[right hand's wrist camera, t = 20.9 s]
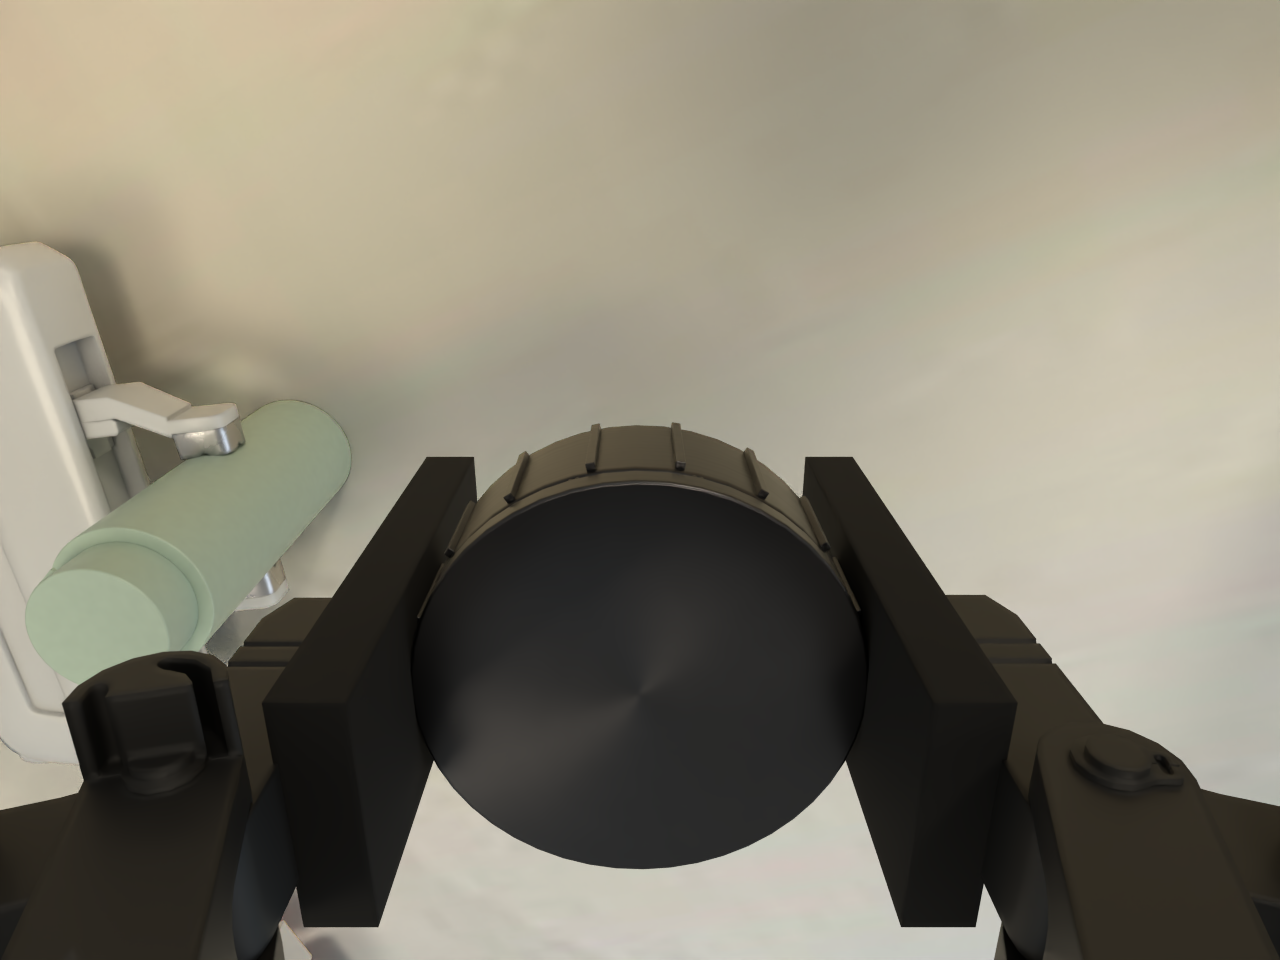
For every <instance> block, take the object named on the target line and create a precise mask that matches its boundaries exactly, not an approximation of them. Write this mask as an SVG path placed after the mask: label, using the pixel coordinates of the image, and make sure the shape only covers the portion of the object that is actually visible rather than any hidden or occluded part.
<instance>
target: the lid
mask: <svg viewBox="0 0 1280 960" xmlns="http://www.w3.org/2000/svg"><path fill="white" fill-rule="evenodd" d="M829 549H831V547H830V545H829V542H828V540H827V538H826V536H825V534H824V532H823V530H822V528H821V525H820V523H819V521H818V519H817V517H816V515H815V513H814V511H813V508H812V506H811V504H810V502H809V500H808V499H807V498H806V496H805V495H804V496H802V497H801V498H799V497H798V496H797V495H796V494H795V493H794V492H793V491H792V490H791V488H790V487H789V486H788V485H787V484H786V483H785V482H784V481H783V480H782V479H781V478H780V477H778V476H777V475H776V474H775V473H774V472H772V471H771V470H770V469H769V468H768V467H766V466H765V465H764V464H762V463H761V462H759V461H758V460H757V459H756V456H755V453H754V451H753V450H751V449H749V448H746V450H745V451H744V452H743V451H742V450H739V449H737V448H735V447H733V446H731V445H728V444H726V443H724V442H722V441H720V440H717V439H714V438H711V437H708V436H705V435H701V434H698V433H695V432H692V431H686V430H681V426H680V424H679V423H672V425H671V428H669V427H662V426H640V425H634V426H621V427H608V428H604V429H601V426H600V424H595V425H592V427H591V431H589V432H584V433H580V434H577V435H574V436H572V437H569V438H566V439H563V440H560V441H557V442H555V443H553V444H551V445H549V446H547V447H544V448H542V449H540V450H538V451H536V452H534V453H532V454H531V455H529V454H528V453H527V452H526V451H525V452H523V453H522V454H520V455H519V458H518V460H517V463H516V465H514V466H513V467H511V468H510V469H509V470H508V471H507V472H506V473H504V474H503V475H502V476H501V477H500V478H499V479H498V480H497V481H495V482H494V483H493V484H492V485H491V486H490V487H489V488H488V490H487V491H486V492H485V493H484V494H483V496H482V497H481V498H480V499H479V500H478V501H477V503H474V502H472V501H470V502H469V503H468V505H467V506H466V508H465V510H464V513H463V515H462V517H461V519H460V521H459V523H458V525H457V527H456V529H455V532H454V534H453V536H452V538H451V540H450V542H449V544H448V546H447V548H446V551H445V553H444V555H446V556H447V559H446V561H445V563H442V564H441V566H440V568H439V570H438V573H437V575H436V577H435V579H434V581H433V583H432V585H431V587H430V590H429V592H428V594H427V596H426V598H425V600H424V602H423V605H422V607H421V609H420V611H419V613H418V615H417V625H418V626H417V630H416V634H415V638H414V642H413V647H412V657H411V679H412V689H413V698H414V706H415V714H416V719H417V723H418V725H419V728H420V731H421V733H422V736H423V739H424V741H425V744H426V746H427V748H428V750H429V752H430V754H431V755H432V757H433V759H434V761H435V763H436V765H437V766H438V768H439V769H440V771H441V772H442V774H443V775H444V776H445V778H446V779H447V780H448V782H449V783H450V784H451V786H452V787H453V788H454V789H455V790H456V791H457V793H458V794H459V795H460V796H461V797H462V798H463V799H464V800H465V801H466V802H467V803H468V804H469V805H470V806H471V807H472V808H473V809H475V810H476V811H477V812H478V813H479V814H481V815H482V816H483V817H484V818H486V819H487V820H488V821H489V822H491V823H492V824H493V825H495V826H497V827H498V828H500V829H501V830H503V831H505V832H506V833H508V834H509V835H511V836H512V837H514V838H516V839H518V840H520V841H522V842H524V843H526V844H529V845H531V846H533V847H535V848H537V849H539V850H542V851H545V852H548V853H550V854H553V855H556V856H559V857H562V858H565V859H569V860H573V861H577V862H581V863H585V864H590V865H597V866H604V867H611V868H626V869H653V868H669V867H676V866H682V865H688V864H694V863H699V862H702V861H706V860H710V859H713V858H717V857H721V856H724V855H726V854H729V853H732V852H734V851H737V850H739V849H742V848H744V847H747V846H749V845H751V844H753V843H755V842H757V841H759V840H761V839H762V838H764V837H766V836H768V835H770V834H772V833H773V832H775V831H776V830H778V829H779V828H781V827H782V826H784V825H785V824H787V823H788V822H790V821H791V820H793V819H794V818H795V817H796V816H797V815H799V814H800V813H801V812H802V811H803V810H804V809H805V808H807V807H808V806H809V805H810V804H811V803H812V802H813V801H814V800H815V799H816V798H817V797H818V796H819V795H820V794H821V793H822V791H823V790H824V789H825V788H826V787H827V786H828V785H829V784H830V782H831V781H832V780H833V778H834V777H835V775H836V774H837V772H838V771H839V769H840V768H841V766H842V765H843V763H844V762H845V760H846V758H847V756H848V754H849V752H850V750H851V748H852V746H853V744H854V742H855V740H856V737H857V734H858V731H859V728H860V725H861V722H862V719H863V716H864V708H865V700H866V692H867V682H868V670H869V661H868V654H867V647H866V639H865V635H864V632H863V629H862V625H861V622H860V619H859V618H862V617H863V615H862V611H861V608H860V606H859V604H858V602H857V600H856V598H855V596H854V594H853V592H852V589H851V587H850V585H849V583H848V581H847V579H846V577H845V575H844V572H843V570H842V568H841V566H840V564H839V562H838V560H837V558H836V557H833V558H832V556H831V554H830V552H829Z"/></svg>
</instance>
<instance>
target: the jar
mask: <svg viewBox="0 0 1280 960" xmlns="http://www.w3.org/2000/svg"><path fill="white" fill-rule="evenodd" d="M241 425H242V429H243V433H244V436H245V440H246V442H245V443H244V444H242V445H238V447H237V449H236V450H234V451H233V452H230V453H228V454H224V455H219V456H209V455H207V454H203V455H202V456H200V457H197V458H192V459H187V460H185V461H184V462H182V463H181V464H179V465H178V466H177V467H175V468H174V469H172V470H171V471H169V472H168V473H167V474H165V475H164V476H162V477H161V478H159V479H158V480H157V481H155V482H154V483H152V484H151V485H149V486H148V487H147V488H145V489H144V490H142V491H141V492H139V493H138V494H137V495H135V496H134V497H132V498H131V499H129V500H128V501H127V502H125V503H124V504H122V505H121V506H119V507H118V508H117V509H115V510H114V511H112V512H111V513H109V514H108V515H107V516H105V517H104V518H102V519H101V520H99V521H98V522H97V523H95V524H94V525H92V526H91V527H89V528H88V529H86V530H85V531H84V532H82V533H81V534H79V535H78V536H76V537H75V538H74V539H72V540H71V541H70V542H68V543H67V544H66V545H65V546H64V547H63V548H62V549H61V551H60V552H59V554H58V555H57V557H56V559H55V561H54V563H53V566H52V569H50V571H49V572H48V573H47V574H46V576H45V577H44V578H43V579H42V581H41V582H40V583H39V584H38V585H37V586H36V587H35V589H34V590H33V592H32V593H31V595H30V597H29V599H28V602H27V605H26V609H25V625H26V629H27V633H28V636H29V639H30V641H31V643H32V645H33V647H34V649H35V650H36V651H37V653H38V654H39V656H40V657H41V658H42V659H43V660H44V661H45V663H46V664H48V665H49V666H50V667H51V668H52V669H53V670H54V671H56V672H57V673H58V674H60V675H61V676H63V677H64V678H66V679H68V680H70V681H72V682H74V683H76V684H78V685H80V684H81V683H83V682H84V681H86V680H88V679H89V678H91V677H92V676H94V675H96V674H97V673H99V672H100V671H102V670H104V669H107V668H109V667H112V666H115V665H117V664H120V663H122V662H125V661H127V660H130V659H132V658H137V657H141V656H146V655H150V654H155V653H159V652H167V651H196V652H198V651H199V650H200V649H201V648H202V647H203V646H204V645H205V644H206V643H207V641H208V640H209V639H210V638H211V637H212V636H213V635H214V633H215V632H216V631H217V630H218V629H219V628H220V626H221V625H222V624H223V623H224V622H225V621H226V620H227V618H228V617H229V616H230V615H231V614H232V613H233V612H234V610H235V609H236V608H237V607H238V606H239V605H240V603H241V602H242V601H243V600H244V599H245V598H246V597H247V595H248V594H249V593H250V592H251V591H252V590H253V588H254V587H255V586H256V585H257V584H258V583H259V582H260V580H261V579H262V578H263V577H264V576H265V575H266V573H267V572H268V571H269V570H270V569H271V568H272V567H273V565H274V564H275V563H276V562H277V561H278V560H279V559H280V557H281V556H282V555H283V554H284V553H285V552H286V550H287V549H288V548H289V547H290V546H291V545H292V544H293V542H294V541H295V540H296V539H297V538H298V537H299V535H300V534H301V533H302V532H303V531H304V530H305V529H306V527H307V526H308V525H309V524H310V523H311V522H312V521H313V519H314V518H315V517H316V516H317V515H318V514H319V512H320V511H321V510H322V509H323V508H324V507H325V506H326V504H327V503H328V502H329V501H330V500H331V499H332V497H333V496H334V495H335V494H336V493H337V492H338V491H339V489H340V488H341V487H342V486H343V484H344V483H345V481H346V479H347V477H348V475H349V472H350V468H351V451H350V446H349V443H348V440H347V438H346V436H345V434H344V432H343V430H342V429H341V427H340V426H339V425H338V424H337V422H336V421H335V420H334V419H333V418H332V417H331V416H330V415H328V414H327V413H325V412H324V411H323V410H321V409H319V408H317V407H315V406H313V405H311V404H308V403H305V402H301V401H295V400H282V401H276V402H272V403H269V404H267V405H265V406H263V407H261V408H259V409H258V410H257V411H255V412H254V413H252V414H251V415H249V416H248V417H247V418H245V419H244V420H242V421H241Z"/></svg>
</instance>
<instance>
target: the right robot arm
mask: <svg viewBox="0 0 1280 960" xmlns="http://www.w3.org/2000/svg"><path fill="white" fill-rule="evenodd" d="M804 495H805V496H806V498H807V499H808V500H809V502H810V504H811V506H812V508H813V511H814V513H815V515H816V517H817V519H818V521H819V523H820V525H821V528H822V530H823V532H824V534H825V536H826V538H827V540H828V542H829V545H830V547H831V549H829V552H830V554H831V556H832V558H833V557H836V558H837V560H838V562H839V564H840V566H841V568H842V570H843V572H844V575H845V577H846V579H847V581H848V583H849V585H850V587H851V589H852V592H853V594H854V596H855V598H856V600H857V602H858V604H859V606H860V608H861V611H862V615H863V617H862V618H859V619H860V622H861V625H862V629H863V632H864V635H865V639H866V647H867V654H868V661H869V670H868V682H867V692H866V700H865V708H864V716H863V719H862V722H861V725H860V728H859V731H858V734H857V737H856V740H855V742H854V744H853V746H852V748H851V750H850V752H849V754H848V756H847V758H846V762H847V765H848V768H849V771H850V774H851V777H852V780H853V784H854V787H855V790H856V793H857V796H858V799H859V802H860V805H861V808H862V811H863V814H864V817H865V820H866V823H867V826H868V829H869V832H870V835H871V838H872V841H873V844H874V847H875V850H876V853H877V856H878V859H879V862H880V865H881V868H882V871H883V874H884V877H885V880H886V883H887V886H888V889H889V892H890V895H891V898H892V901H893V904H894V907H895V910H896V913H897V916H898V919H899V922H900V925H901V927H976V922H977V917H978V911H979V906H980V901H981V895H982V890H983V885H984V884H985V887H986V889H987V891H988V893H989V895H990V897H991V900H992V902H993V904H994V906H995V908H996V910H997V913H998V915H999V917H1000V919H1001V921H1002V923H1001V928H1000V933H999V938H998V943H997V948H996V953H995V958H994V960H1280V806H1275V805H1270V804H1266V803H1261V802H1256V801H1251V800H1246V799H1242V798H1237V797H1232V796H1227V795H1222V794H1218V793H1214V792H1211V791H1207V790H1203V789H1200V787H1199V784H1198V782H1197V780H1196V779H1195V777H1194V776H1193V775H1192V773H1191V772H1190V771H1189V769H1188V768H1187V767H1186V766H1185V764H1184V763H1183V762H1182V760H1180V759H1179V758H1178V757H1176V756H1175V755H1173V754H1172V753H1171V752H1169V751H1168V750H1167V749H1165V748H1164V747H1162V746H1161V745H1160V744H1158V743H1156V742H1154V741H1152V740H1150V739H1147V738H1145V737H1143V736H1141V735H1139V734H1136V733H1134V732H1132V731H1130V730H1126V729H1122V728H1118V727H1114V726H1110V725H1106V724H1103V722H1102V721H1101V720H1100V719H1099V717H1098V716H1097V715H1096V714H1095V712H1094V711H1093V710H1092V709H1091V707H1090V706H1089V705H1088V704H1087V702H1086V701H1085V700H1084V698H1083V697H1082V696H1081V695H1080V693H1079V692H1078V691H1077V690H1076V688H1075V687H1074V686H1073V685H1072V683H1071V682H1070V681H1069V680H1068V678H1067V677H1066V676H1065V675H1064V673H1063V672H1062V671H1061V670H1060V668H1059V667H1058V666H1057V665H1056V664H1052V658H1051V657H1050V656H1049V654H1048V653H1047V652H1046V651H1045V649H1044V648H1043V647H1042V646H1041V644H1036V638H1035V637H1034V636H1033V634H1032V633H1031V632H1030V631H1029V629H1028V628H1027V627H1026V626H1025V624H1024V623H1023V622H1022V621H1021V619H1020V618H1019V617H1018V615H1016V614H1015V613H1013V612H1011V611H1010V610H1008V609H1007V608H1005V607H1003V606H1002V605H1000V604H999V603H997V602H996V601H994V600H992V599H991V598H989V597H988V596H986V595H945V594H944V592H943V591H942V589H941V588H940V586H939V585H938V583H937V582H936V580H935V579H934V577H933V576H932V574H931V573H930V571H929V570H928V568H927V567H926V565H925V564H924V562H923V561H922V559H921V558H920V557H919V555H918V554H917V552H916V551H915V549H914V548H913V546H912V545H911V543H910V542H909V540H908V539H907V537H906V536H905V534H904V533H903V531H902V530H901V528H900V527H899V525H898V524H897V522H896V521H895V519H894V518H893V516H892V515H891V513H890V512H889V510H888V509H887V507H886V506H885V504H884V503H883V501H882V500H881V498H880V497H879V495H878V494H877V493H876V491H875V490H874V488H873V487H872V485H871V484H870V482H869V481H868V479H867V478H866V476H865V475H864V473H863V472H862V470H861V469H860V467H859V466H858V464H857V463H856V461H855V460H854V458H853V457H805V470H804V484H803V496H804ZM470 501H472V502H474V503H477V492H476V478H475V465H474V457H426V459H425V460H424V462H423V463H422V465H421V466H420V468H419V469H418V471H417V472H416V474H415V475H414V477H413V478H412V480H411V481H410V483H409V484H408V486H407V487H406V489H405V490H404V492H403V493H402V495H401V496H400V498H399V499H398V501H397V502H396V504H395V505H394V507H393V508H392V510H391V511H390V512H389V514H388V515H387V517H386V518H385V520H384V521H383V523H382V524H381V526H380V527H379V529H378V530H377V532H376V533H375V535H374V536H373V538H372V539H371V541H370V542H369V544H368V545H367V547H366V548H365V550H364V551H363V553H362V554H361V556H360V557H359V559H358V560H357V562H356V563H355V565H354V566H353V568H352V569H351V570H350V572H349V573H348V575H347V576H346V578H345V579H344V581H343V582H342V584H341V585H340V587H339V588H338V590H337V591H336V593H335V594H334V596H333V597H332V598H294V599H292V600H290V601H289V602H287V603H286V604H284V605H283V606H281V607H279V608H278V609H276V610H275V611H273V612H272V613H270V614H268V615H267V616H265V617H264V618H262V620H261V621H260V622H259V623H258V625H257V626H256V627H255V628H254V630H253V631H252V632H251V634H250V635H249V636H248V637H247V639H246V640H245V641H244V646H243V647H239V649H238V650H237V651H236V653H235V654H234V655H233V656H232V658H231V659H230V660H229V661H228V667H226V665H225V664H224V663H223V662H221V661H220V660H219V659H218V658H216V657H215V656H214V655H210V654H205V653H201V652H196V651H167V652H159V653H155V654H150V655H146V656H141V657H137V658H132V659H130V660H127V661H125V662H122V663H120V664H117V665H115V666H112V667H109V668H107V669H104V670H102V671H100V672H99V673H97V674H96V675H94V676H92V677H91V678H89V679H88V680H86V681H84V682H83V683H81V684H80V685H78V686H77V687H76V688H75V689H74V690H73V691H72V692H71V694H70V695H69V696H68V697H67V698H66V699H65V700H64V701H63V702H62V706H63V710H64V713H65V717H66V720H67V724H68V727H69V731H70V734H71V738H72V741H73V745H74V748H75V751H76V755H77V758H78V762H79V765H80V769H81V772H82V776H83V779H84V782H83V784H82V786H81V788H80V790H79V792H78V793H76V794H72V795H69V796H65V797H61V798H57V799H52V800H47V801H43V802H38V803H33V804H28V805H23V806H19V807H14V808H9V809H4V810H0V960H285V957H284V950H283V943H282V938H281V933H280V928H279V922H280V920H281V918H282V916H283V914H284V912H285V909H286V907H287V905H288V903H289V901H290V899H291V896H292V894H293V892H294V890H295V888H297V893H298V898H299V904H300V909H301V914H302V920H303V925H304V927H378V926H379V923H380V920H381V917H382V914H383V911H384V908H385V905H386V902H387V899H388V896H389V893H390V890H391V887H392V884H393V881H394V878H395V875H396V872H397V869H398V866H399V863H400V860H401V857H402V854H403V851H404V848H405V845H406V842H407V839H408V836H409V833H410V830H411V827H412V824H413V821H414V818H415V815H416V812H417V809H418V806H419V803H420V800H421V797H422V794H423V791H424V788H425V785H426V782H427V779H428V776H429V773H430V770H431V767H432V764H433V761H434V759H433V757H432V755H431V754H430V752H429V750H428V748H427V746H426V744H425V741H424V739H423V736H422V733H421V731H420V728H419V725H418V723H417V719H416V714H415V706H414V698H413V689H412V679H411V657H412V647H413V642H414V638H415V634H416V630H417V626H418V625H417V615H418V613H419V611H420V609H421V607H422V605H423V602H424V600H425V598H426V596H427V594H428V592H429V590H430V587H431V585H432V583H433V581H434V579H435V577H436V575H437V573H438V570H439V568H440V566H441V564H442V563H445V561H446V559H447V556H446V555H444V553H445V551H446V548H447V546H448V544H449V542H450V540H451V538H452V536H453V534H454V532H455V529H456V527H457V525H458V523H459V521H460V519H461V517H462V515H463V513H464V510H465V508H466V506H467V505H468V503H469V502H470Z"/></svg>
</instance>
